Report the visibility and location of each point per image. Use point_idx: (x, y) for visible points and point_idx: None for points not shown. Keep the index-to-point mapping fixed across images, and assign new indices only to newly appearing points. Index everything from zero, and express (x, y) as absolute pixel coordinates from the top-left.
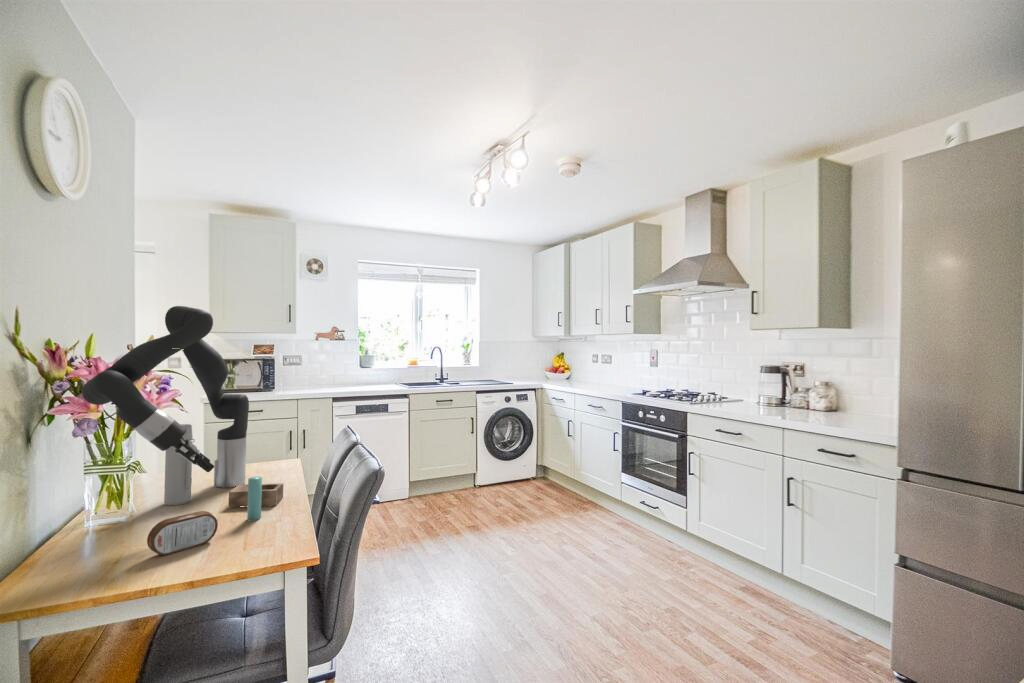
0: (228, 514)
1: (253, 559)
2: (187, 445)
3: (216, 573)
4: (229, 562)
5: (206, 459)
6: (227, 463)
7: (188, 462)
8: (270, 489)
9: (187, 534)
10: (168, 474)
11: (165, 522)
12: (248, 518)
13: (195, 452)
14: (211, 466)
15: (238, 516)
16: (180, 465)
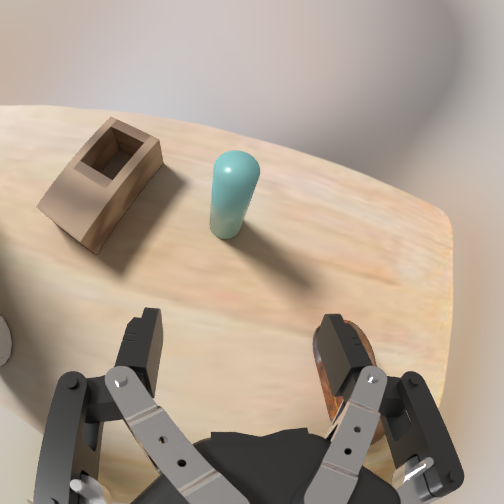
0: (147, 266)
1: (431, 279)
2: (448, 470)
3: (447, 331)
4: (427, 312)
5: (157, 328)
6: None
7: None
8: (100, 148)
9: None
10: None
11: (381, 429)
12: (231, 236)
13: (437, 414)
14: (350, 327)
15: (181, 250)
16: None
